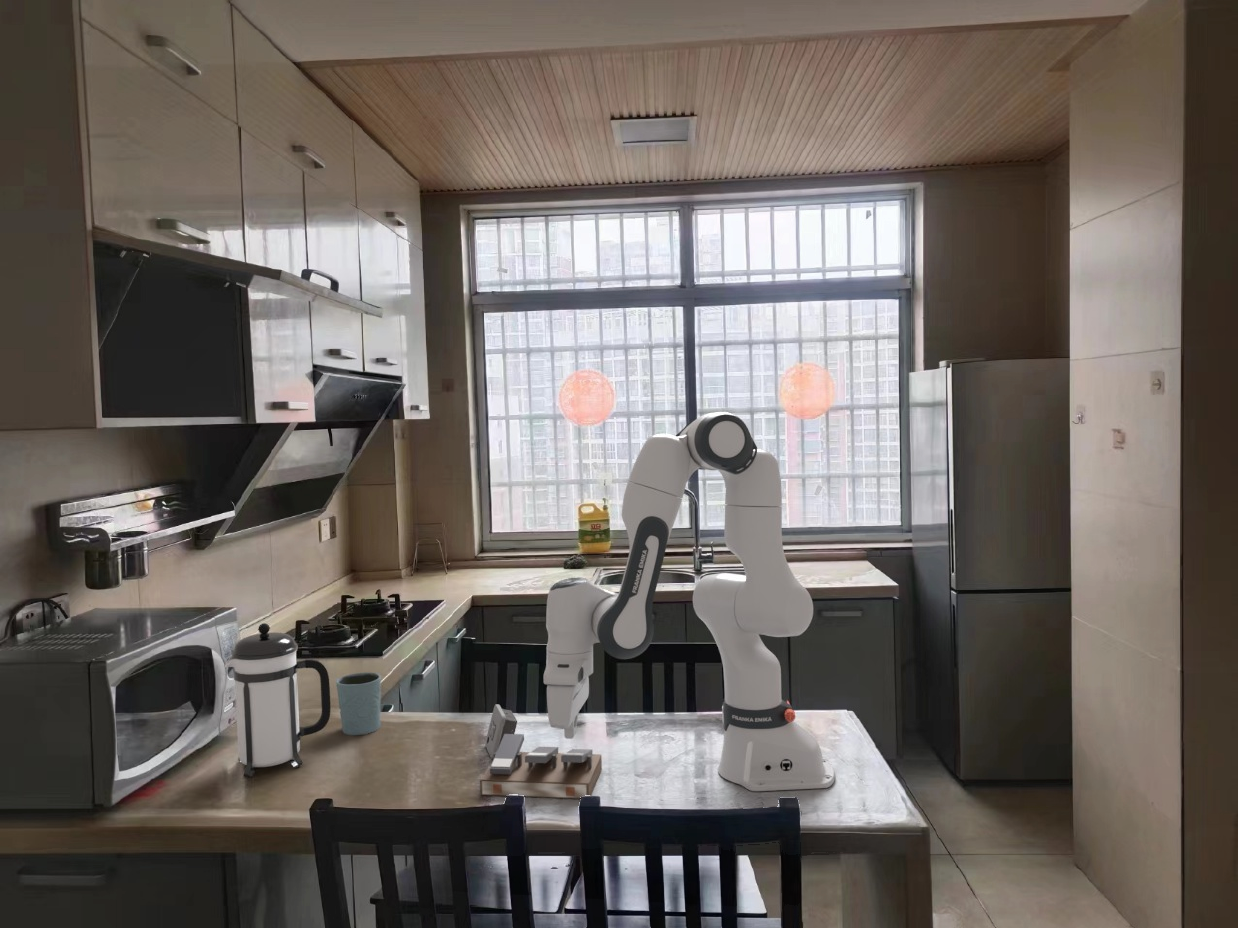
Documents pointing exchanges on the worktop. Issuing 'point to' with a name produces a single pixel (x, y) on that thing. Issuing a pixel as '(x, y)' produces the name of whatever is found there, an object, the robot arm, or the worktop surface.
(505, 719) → the electrical switch
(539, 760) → the rocker middle
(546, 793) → the switch unit
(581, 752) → the rocker
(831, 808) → the worktop surface
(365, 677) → the blue embossed cup
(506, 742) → the rocker
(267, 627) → the coffee press
